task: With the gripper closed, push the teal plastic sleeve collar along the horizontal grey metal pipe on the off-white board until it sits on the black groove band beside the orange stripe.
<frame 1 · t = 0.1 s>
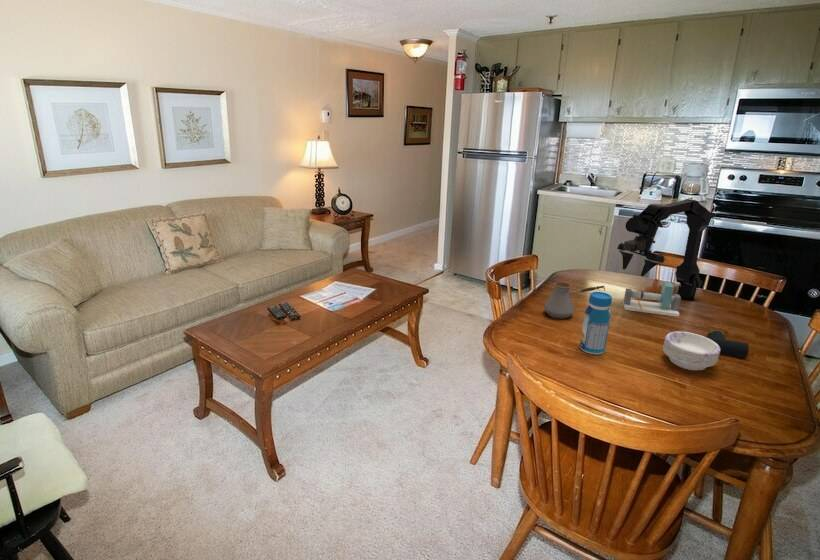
hand: (632, 272, 184), 15 cm above the table, tool pointing down, fingers open, 9 cm apart
coffee pot: (571, 317, 180), on the table
pipe rig: (649, 308, 189), on the table
paper bowls: (687, 363, 146), on the table
beverage bottle: (591, 349, 154), on the table
sleeve collar: (666, 294, 185), point 7 cm above the table, slide at 0.0 cm
pipe connector: (715, 349, 157), on the table
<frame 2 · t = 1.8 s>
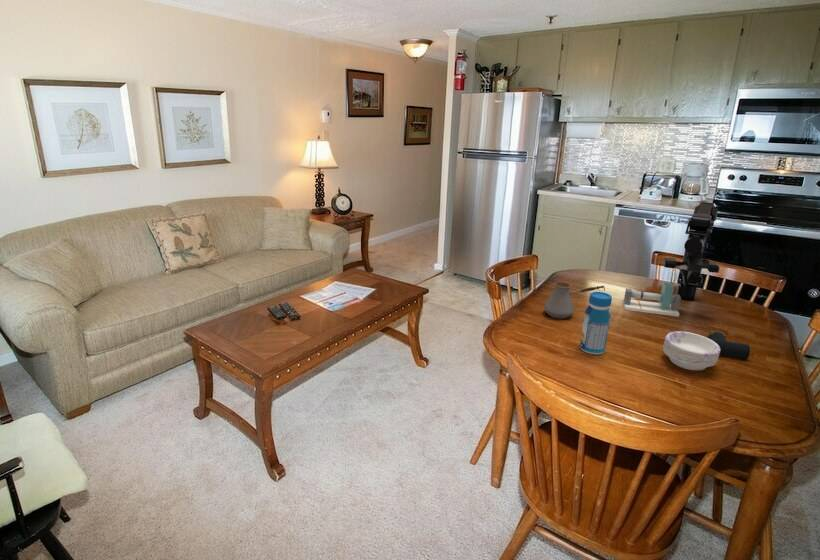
hand: (685, 285, 182), 12 cm above the table, tool pointing down, fingers closed
pipe connector: (716, 350, 156), on the table
everything else where it was.
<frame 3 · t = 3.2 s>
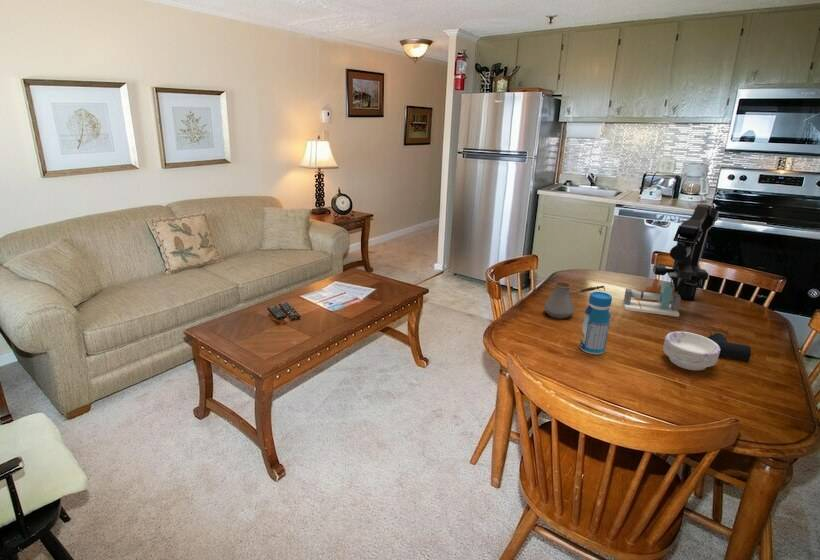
hand: (675, 292, 184), 9 cm above the table, tool pointing down, fingers closed
sleeve collar: (665, 294, 185), point 7 cm above the table, slide at 0.3 cm, touching gripper
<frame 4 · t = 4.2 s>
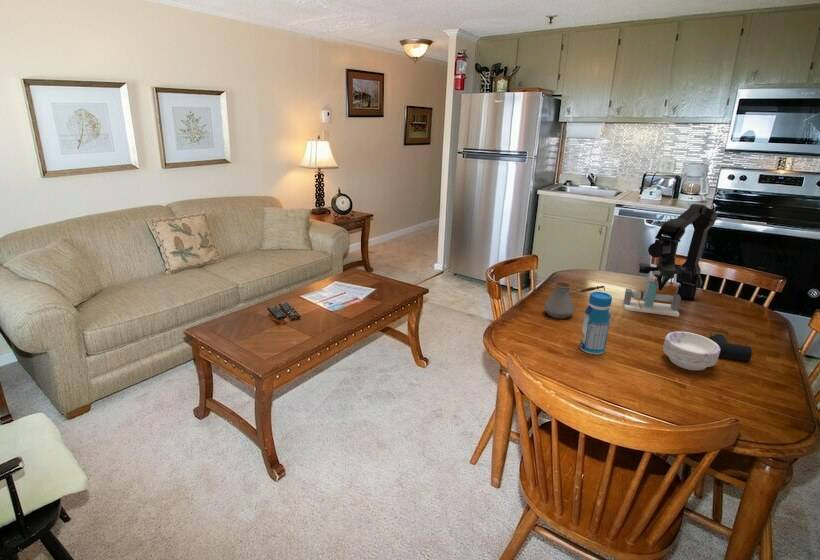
hand: (659, 290, 185), 9 cm above the table, tool pointing down, fingers closed
sleeve collar: (650, 292, 187), point 7 cm above the table, slide at 6.0 cm, touching gripper
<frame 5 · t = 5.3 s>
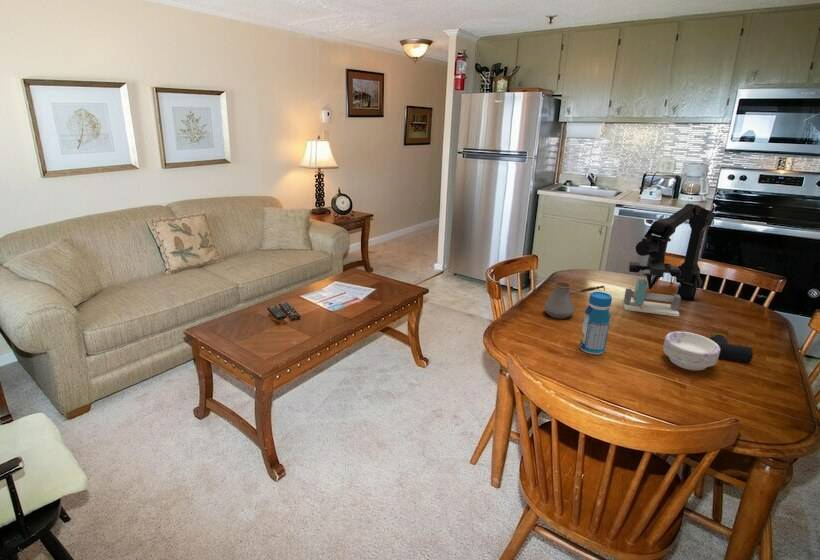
hand: (649, 289, 186), 9 cm above the table, tool pointing down, fingers closed
sleeve collar: (640, 291, 188), point 7 cm above the table, slide at 9.7 cm, touching gripper
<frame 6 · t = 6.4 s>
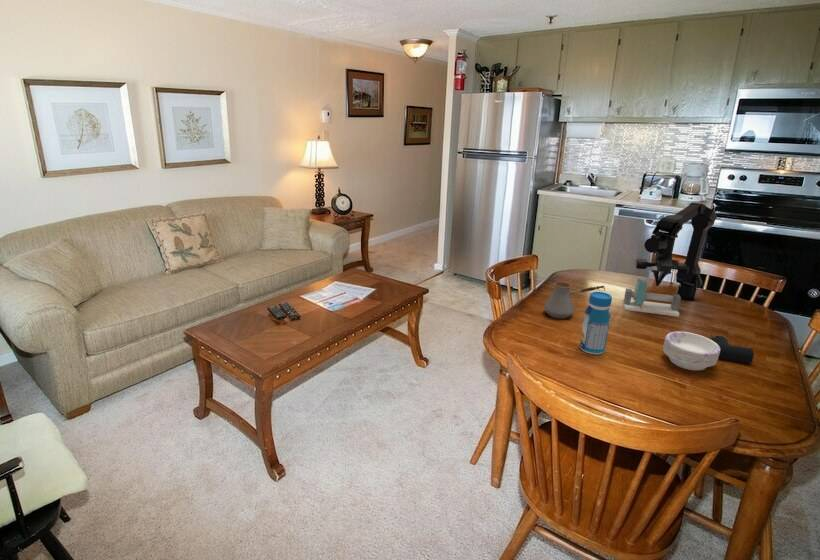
hand: (656, 285, 185), 10 cm above the table, tool pointing down, fingers closed
sleeve collar: (640, 291, 188), point 7 cm above the table, slide at 9.8 cm
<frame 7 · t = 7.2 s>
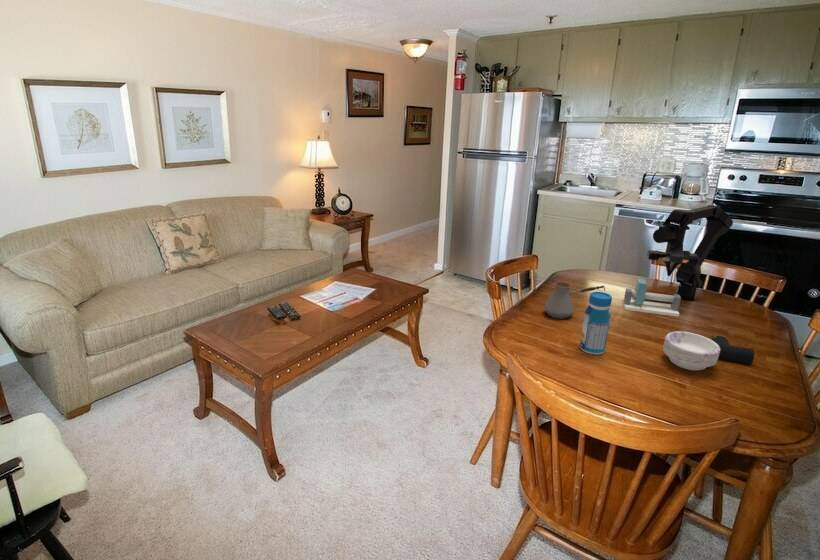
hand: (668, 275, 193), 12 cm above the table, tool pointing down, fingers closed
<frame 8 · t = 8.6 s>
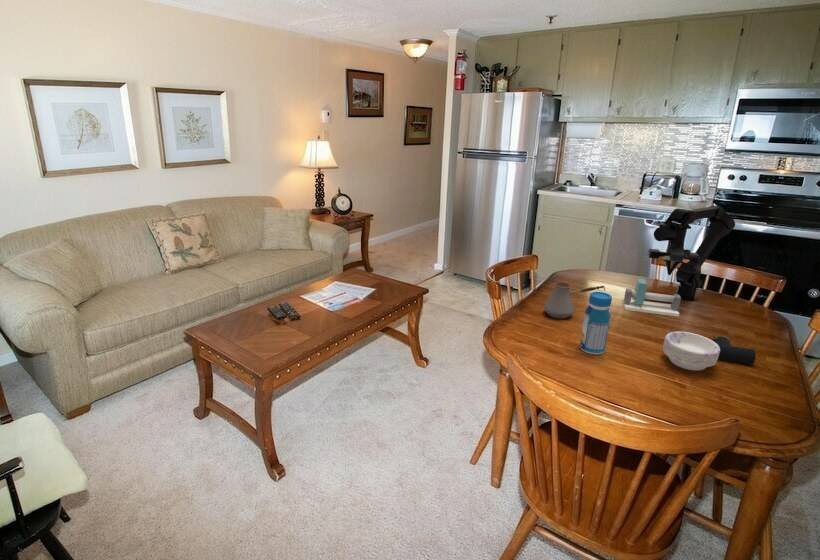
hand: (669, 274, 193), 12 cm above the table, tool pointing down, fingers closed
at the end: sleeve collar slide at 9.8 cm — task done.
